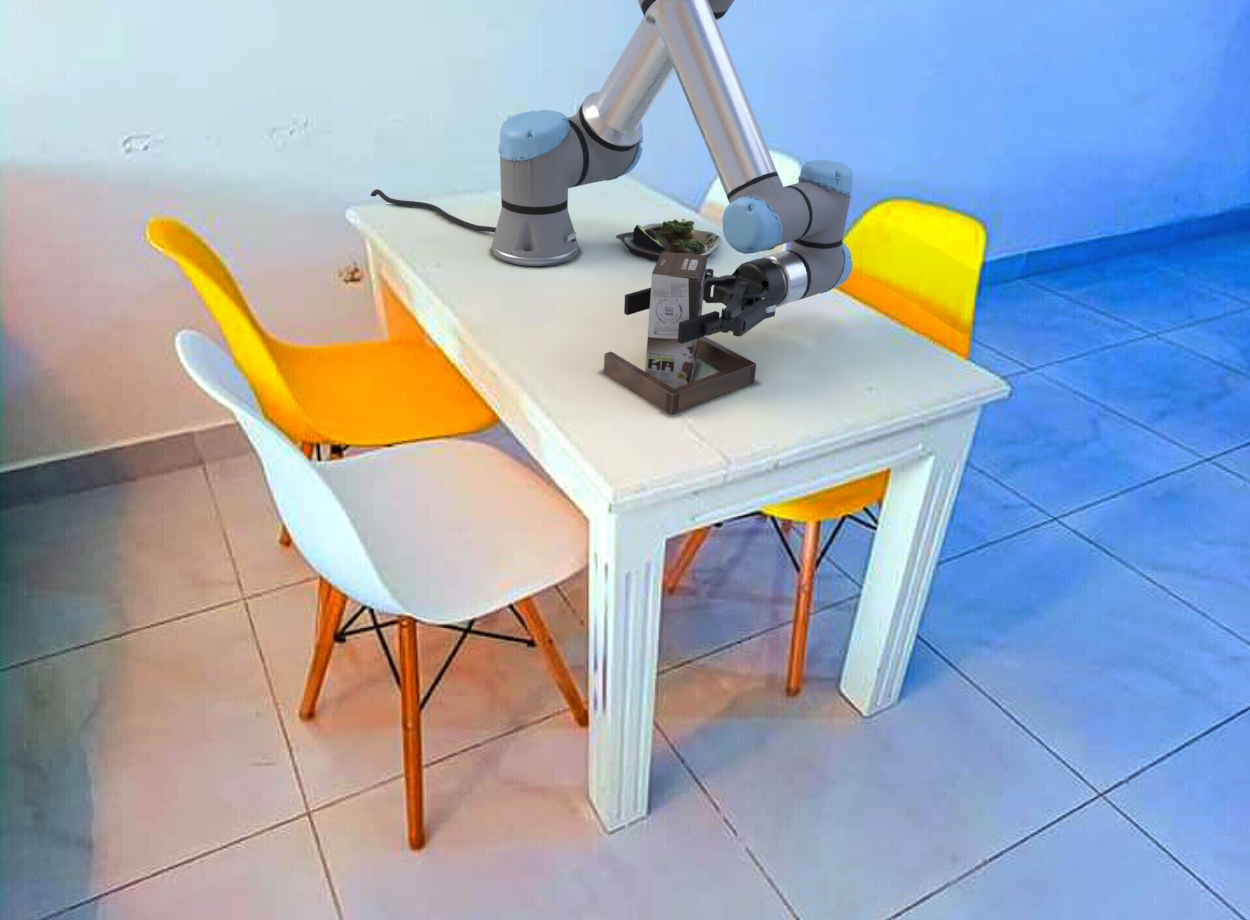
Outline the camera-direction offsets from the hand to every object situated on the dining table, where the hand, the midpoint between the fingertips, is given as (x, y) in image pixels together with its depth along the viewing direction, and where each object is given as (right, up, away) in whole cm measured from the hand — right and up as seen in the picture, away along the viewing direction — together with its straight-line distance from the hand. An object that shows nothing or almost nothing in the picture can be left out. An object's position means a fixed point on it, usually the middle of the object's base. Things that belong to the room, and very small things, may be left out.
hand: (652, 318), depth 120 cm
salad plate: (+5, +21, +49) cm, 54 cm away
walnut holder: (+3, -7, +7) cm, 10 cm away
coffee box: (+3, -7, +8) cm, 10 cm away
